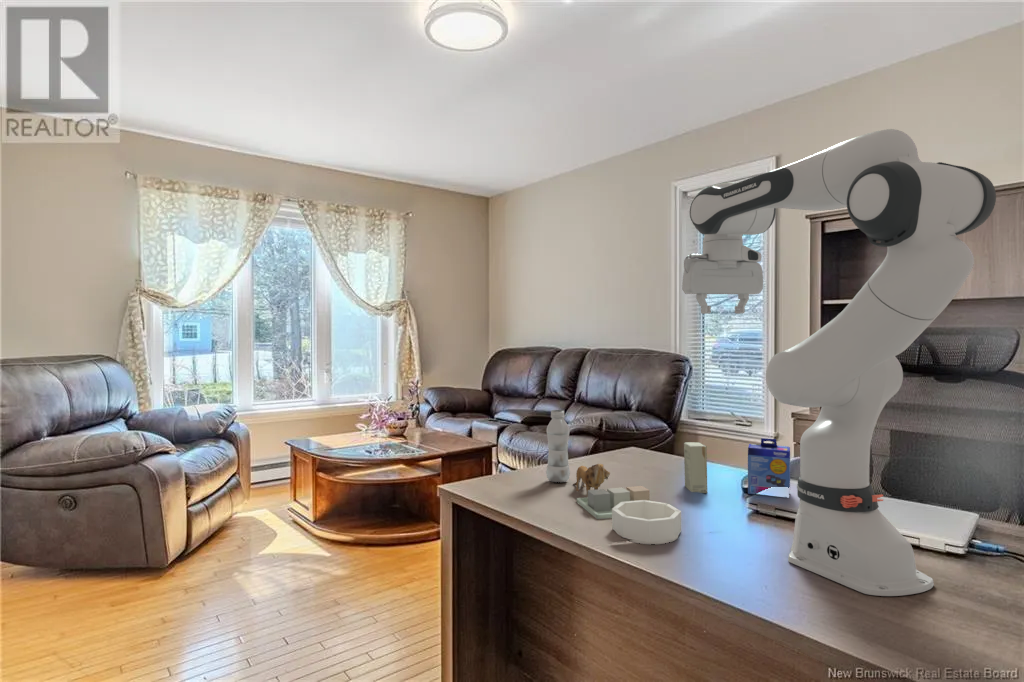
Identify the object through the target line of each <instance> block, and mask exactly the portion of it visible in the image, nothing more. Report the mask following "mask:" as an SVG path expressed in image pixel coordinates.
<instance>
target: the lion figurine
mask: <svg viewBox="0 0 1024 682" xmlns="http://www.w3.org/2000/svg"><path fill="white" fill-rule="evenodd" d="M575 475H576V482H575V483H573V484H572V486H573V487H575V486H576V488H575V491H576V492H580V491H581V490H580V487H581V488H585V490H586V497H588V490H591V488H592V489H593V490H597V489H599V488H600V487H601V485H602V484H604V482H605V480H606V481H608V480H609V478H610V476H611V472H610V471H608V470H607V469H606V468H605V467H604V464H602V463H597V464H594V465H591V466H590V467H588V466H585V465H581V466H579V467H578V468H577V470H576V474H575ZM580 482H581V484H580ZM580 485H581V486H580Z"/></svg>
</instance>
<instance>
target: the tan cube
mask: <svg viewBox="0 0 1024 682" xmlns="http://www.w3.org/2000/svg"><path fill="white" fill-rule="evenodd" d="M625 489H626V490H628V491H629V492H630V501H637V500H647V501H651V499H650V489H648V488H646V487H645V486H643V485H635V486H627V487H626V488H625Z"/></svg>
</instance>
